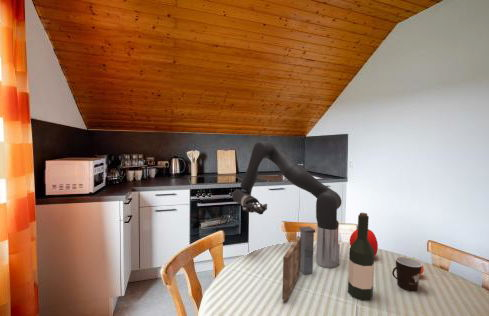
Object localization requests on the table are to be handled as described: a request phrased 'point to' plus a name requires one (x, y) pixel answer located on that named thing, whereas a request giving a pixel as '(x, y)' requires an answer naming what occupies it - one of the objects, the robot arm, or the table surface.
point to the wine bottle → (361, 263)
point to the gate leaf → (291, 267)
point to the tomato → (371, 239)
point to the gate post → (306, 250)
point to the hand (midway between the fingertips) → (261, 212)
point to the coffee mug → (407, 273)
